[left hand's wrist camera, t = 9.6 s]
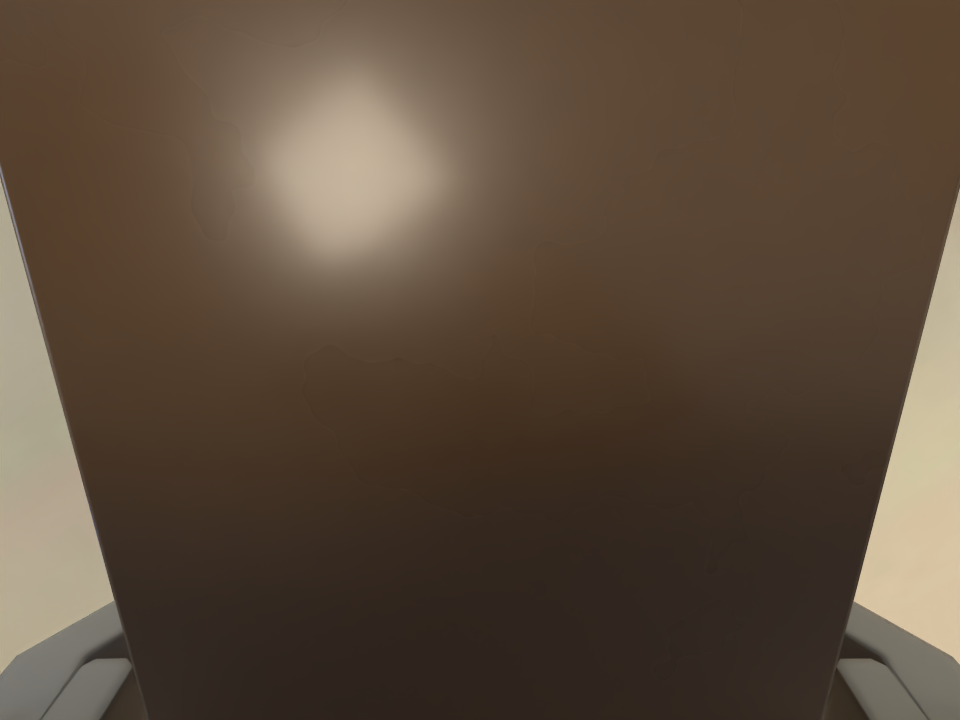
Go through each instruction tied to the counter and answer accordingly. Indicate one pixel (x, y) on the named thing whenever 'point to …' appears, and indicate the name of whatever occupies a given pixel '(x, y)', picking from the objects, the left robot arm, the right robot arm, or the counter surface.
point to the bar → (482, 337)
